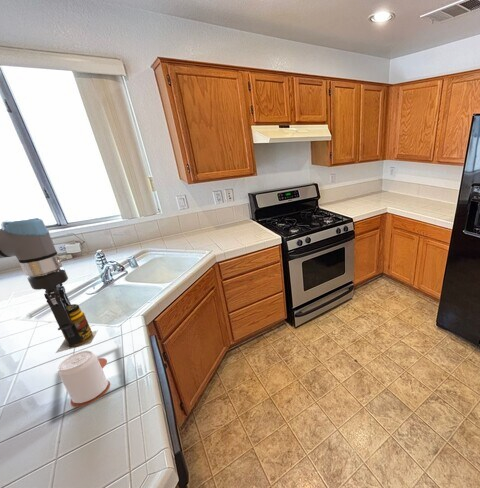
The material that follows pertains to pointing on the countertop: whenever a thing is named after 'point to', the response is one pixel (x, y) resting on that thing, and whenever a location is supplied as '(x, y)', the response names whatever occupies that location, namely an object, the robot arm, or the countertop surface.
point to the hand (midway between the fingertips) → (76, 338)
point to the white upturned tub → (82, 376)
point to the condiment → (78, 328)
